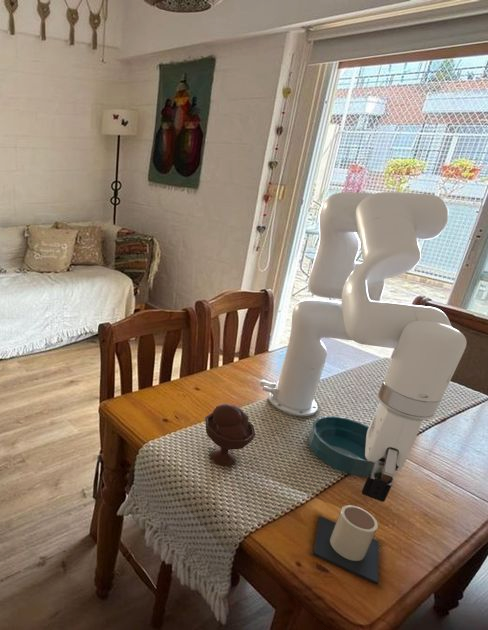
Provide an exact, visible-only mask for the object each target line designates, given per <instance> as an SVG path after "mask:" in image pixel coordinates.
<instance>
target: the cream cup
mask: <svg viewBox="0 0 488 630" xmlns="http://www.w3.org/2000/svg"><path fill="white" fill-rule="evenodd" d="M335 523H336V524H335V527H334V530H333V532H332V535H331V537H330V543H331V546H332V547H333V549H334V550H335V551H336V552H337V553H338V554H340V555H341V556H343V557H344V558H346V559H349V560H353V561H360V560H362V559H364V557H365V555H366V553H367V550H368V548H369V546H370V544H371V541H372V539H374V537H375V534H376V532H377V530H378V527H379V524H378V521H377V519H376V518H375V517H374V516H373V515H372V514H371V513H370V512H369V511H367V510H365V509H364V508H361V507H359V506H357V505H351V504H348V505H344V506H342V508H341V509H340V512H339V514H338V517H337V519H336V521H335Z"/></svg>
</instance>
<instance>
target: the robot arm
mask: <svg viewBox="0 0 488 630" xmlns="http://www.w3.org/2000/svg"><path fill="white" fill-rule="evenodd" d="M448 221H449V208H448V206H447V204H446V202H445V200H444V199H443V198H441V197H440V196H438V195H435V194H429V193H412V192H398V191H397V192H396V191H394V192H393V191H383V192H375V193H370V192H354V191H353V192H346V191H345V192H335V193H332V194H330V195H328V196H326V198H325V199H324V200H323V202H322V204H321V206H320V208H319V212H318V229H319V240H318V245H317V249H316V253H315V255H314V260H313V263H312V266H311V270H310V274H309V278H308V283H307V285H308V286H307V287H308V291H309V293H311V294H312V295H314V296H316V297H320V298H326V299H319V298H306V299H302V300H300V301H298V302H296V304H295V305H294V307H293V310H292V315H291V326H290V334H289V335H290V336H289V340H288V344H287V348H286V351H285V354H284V355H285V356H284V359H283V363H282V366H281V371H280V375H279V377H278V380H277V382H270V381H267V380H265V379H261V380H260V382H259V383H260V384H259V386H260V387H262V391H264V392H267V393H268V397H267V399H268V401H269V402H270V404H271V405H273V406H274V407H275V408H276V409H278V410H279V411H282V412H284V413H287V414H289V415H292V416H298V417H309V416H313V415H315V414H316V413H317V412H318V409H319V407H318V403H317V402H316V401H315V396H316V394H317V390H318V387H319V383H320V380H321V377H322V373H323V370H324V368H325V364H326V360H327V357H328V351H327V347H326V346H325V344H324V342H323V341H322V339H323V338H326V339H335V340H343V341H344V340H345V341H352V342H355V343H356V344H361V345H362V346H363V345H364V346H372V347H380V348H388V349H395V350H394V352H393V355H392V357H391V360H390V363H389V365H388V368H387V370H386V372H385V375H384V378H383V380H382V382H381V385H380V388H379V390H378V393H377V395H376V398H377V401H378V403H379V404H378V406H377V408H376V411H375V412H374V414H373V417H372V419H371V422H370V423H369V426H368V427H369V428H368V430H367V435H366V447H365V456H364V459H365V460H367V461H370V462H372V463H374V466H373V469H372V473H371V475H370V474H369V475H368V477H366V479H365V482H364V484H363V486H362V489H361V494H362V495H363V496H365V497H368V498H370V499H374V500H376V501H379V502H381V503H385V501H386V499H387V497H388V494H389V493H390V490H391V488H392V486H393V481H394V478H395V475H396V472H398V471H399V472H400V471H401V470H402V469H403V467H404V465H405V463H406V462H407V459H408V458H409V455H410V453H411V451H412V448H413V446H414V444H415V441H416V438H417V436H418V434H419V432H420V429H421V426H422V424H423V421H429V420H432V419H433V418H434V416H435V415H436V412H437V410H438V408H439V407H440V404H441V402H442V399H443V397H444V395H445V393H446V391H447V389H448V386H449V385H450V382H451V381H452V378H453V376H454V374H455V372H456V370H457V367H458V365H459V363H460V361H461V360H462V357H463V355H464V353H465V350H466V348H467V338H466V337H465V335H464V334H463V333H462V332H461V331H460V330H458V329H456V328H454V327H453V326H452V323H451V322H450V319H449V317H448V316H447V315H446V313H445V312H444V311H442V310H441V309H439V308H437V307H433V306H428V305H427V306H425V305H417V304H409V303H399V302H391V301H381V299H382V296H383V293H384V290H385V285H386V280H387V279H390V278H394V277H398V276H401V275H404V274H406V273H407V272H410V271H411V270H412V269H414V268H415V267H416V266H418V264H419V263H420V261H421V258H422V251H421V248H420V244H419V241H418V240H423V241H424V240H425V241H427V240H432V239H435V238H437V237H438V236H440V235H441V234H442V233H443V231H444V230H445V228H446V227H447V224H448ZM357 233H358V234H357ZM359 251H361V256H362V261H356V260H357V257H358V255H359ZM327 299H328V300H327ZM329 299H334V300H329ZM335 300H341V301H335ZM379 465H380V466H383V467H384V468H383V470H382V472H378V473H377V471H378V467H379Z"/></svg>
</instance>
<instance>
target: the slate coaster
mask: <svg viewBox="0 0 488 630" xmlns="http://www.w3.org/2000/svg"><path fill="white" fill-rule="evenodd" d="M335 524H336V521H333V520H330V519H328V518H326V517H324V516H321V515H319V517H318V521H317V529H316V533H315V534H316V535H315V542H314V546H313V553H312V556H314V557H317V558H319V559H321V560H323V561H325V562H327V563H330V564H332V565H333V566H334V565H335V567H338V568H340V569H342V570H344V571H346V572H349V573H351V574H353V575H355V576H357V577H359V578H362V579H364V580H366V581H368V582H370V583H372V584H375V585H378V584H379V547H380V546H379V543H380V541H379V540H377V539H375V538H373V539H372V541H371V544H370V546H369V548H368V550H367V553H366V555H365V557H364V559H362V560H360V561H353V560H349V559H346V558H344V557H343V556H341V555H340V554H338V553H337V552H336V551H335V550H334V549H333V547H332V546H331V543H330V537H331V535H332V532H333V530H334V527H335Z"/></svg>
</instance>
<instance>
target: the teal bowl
mask: <svg viewBox="0 0 488 630" xmlns="http://www.w3.org/2000/svg"><path fill="white" fill-rule="evenodd" d="M368 428H369V426H368V425H366V424H364V423H362V422H359V421H357V420H353V419H350V418H347V417H341V416H336V415H334V416H333V415H332V416H331V415H329V416H321V417H318V418H317V419H315V420H314V421H313V422H312V425H311V429H310V432H309V435H308V439H307V443H308V446H309V449H310V450H311V452H312V453H313V454H314V455H315V456H316V457H317V458H318V459H319V460H320V461H322V463H325V464H326V465H328V466H330V467H331V468H333V469H334V470H337V471H340V472H342V473H345V474H348V475H351V476H357V477H362V478H367V477H368V475H369V474H370V475H371V473H372V469H373V466H374V463H372V462H370V461H367V460H365V459H364V456H365V447H366V435H367V430H368ZM383 468H384V467H383V466H380V465H379V467H378V471H377V473H378V472H382V470H383Z"/></svg>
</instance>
